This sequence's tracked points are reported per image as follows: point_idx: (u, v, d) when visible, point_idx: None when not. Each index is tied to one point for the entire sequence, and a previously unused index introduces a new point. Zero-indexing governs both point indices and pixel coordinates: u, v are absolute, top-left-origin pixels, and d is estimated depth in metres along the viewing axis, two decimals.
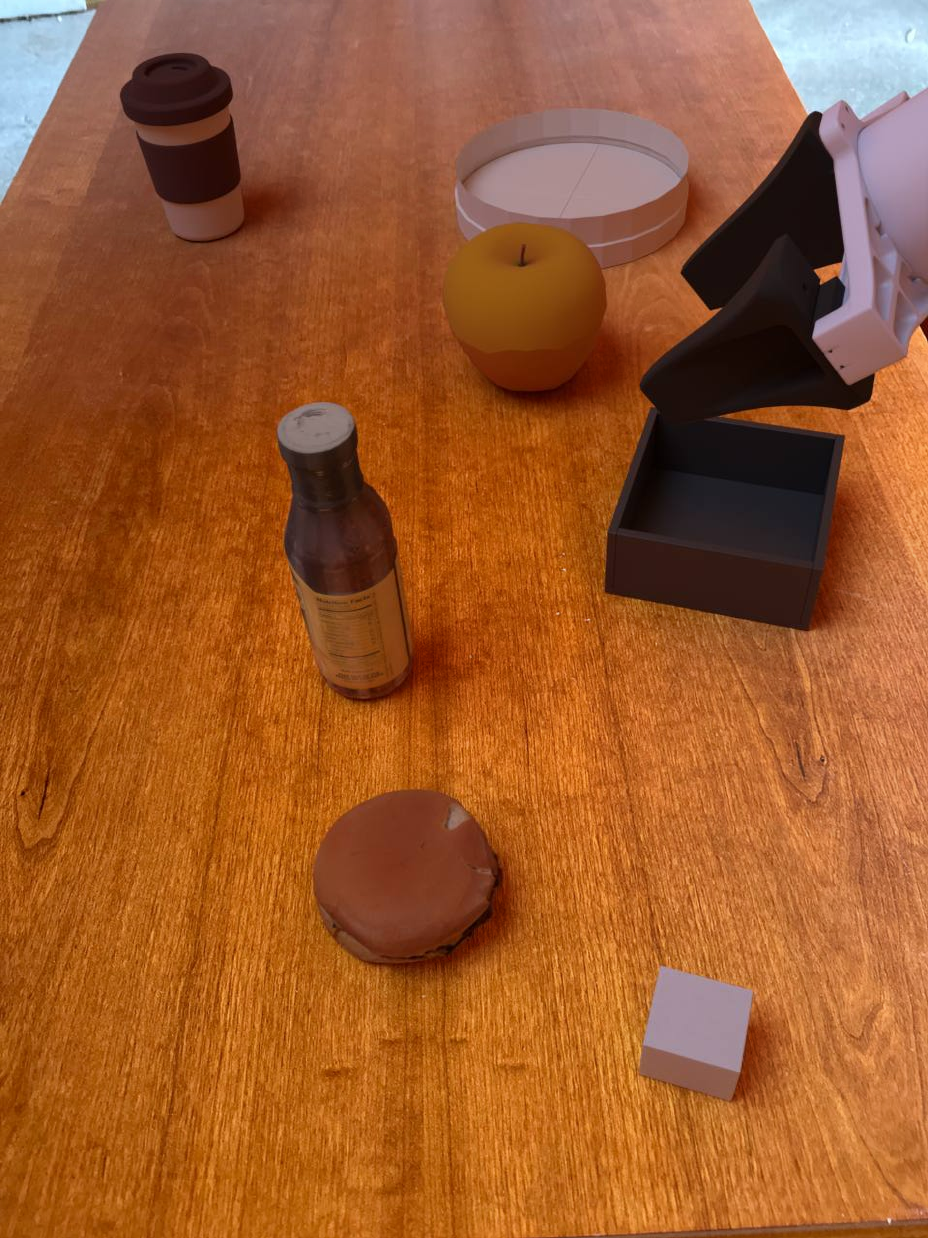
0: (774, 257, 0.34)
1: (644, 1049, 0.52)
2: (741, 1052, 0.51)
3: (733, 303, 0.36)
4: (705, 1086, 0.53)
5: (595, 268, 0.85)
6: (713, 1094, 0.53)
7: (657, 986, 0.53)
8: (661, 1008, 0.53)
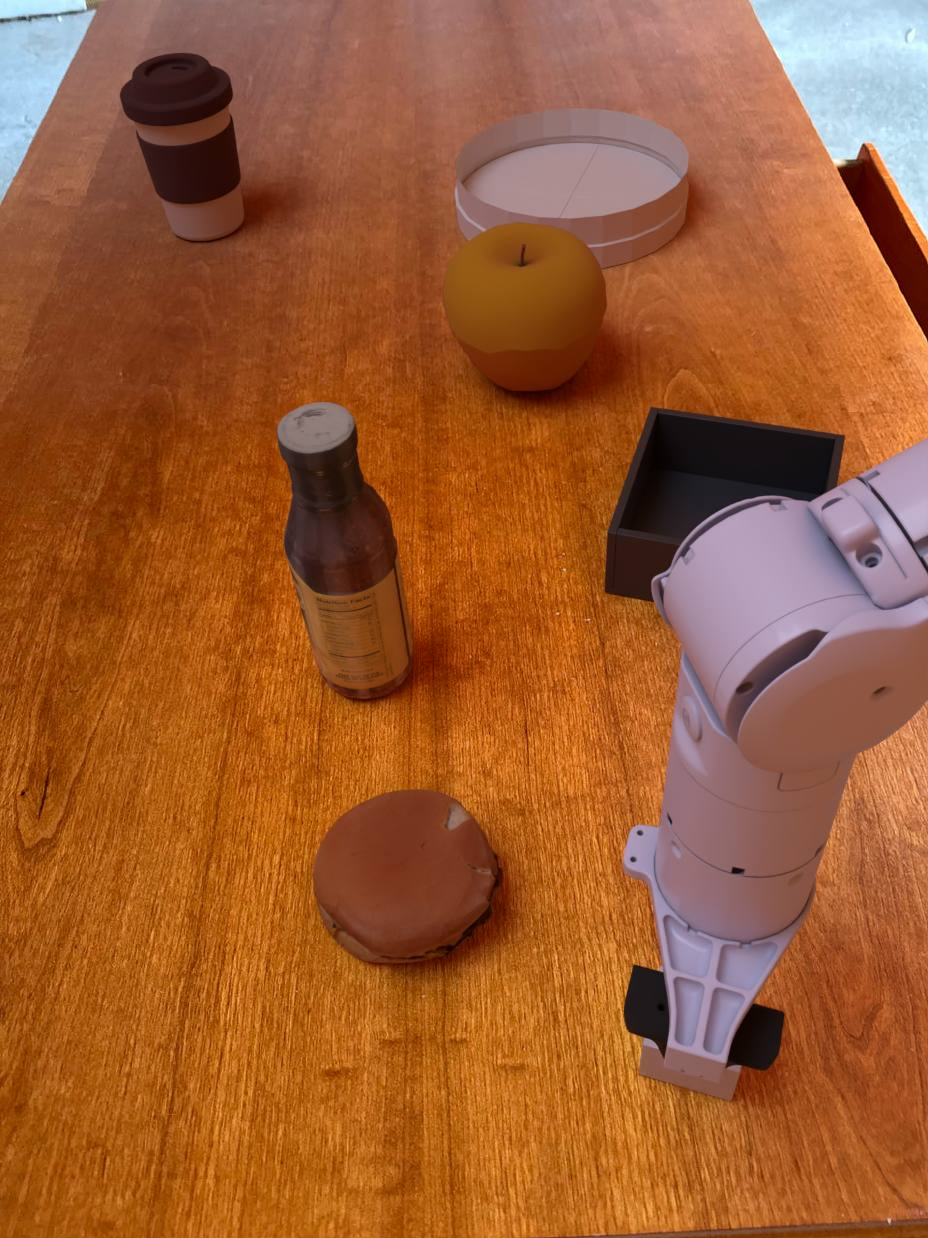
0: None
1: (644, 1049, 0.52)
2: None
3: None
4: (705, 1086, 0.53)
5: (595, 268, 0.85)
6: (713, 1094, 0.53)
7: None
8: None
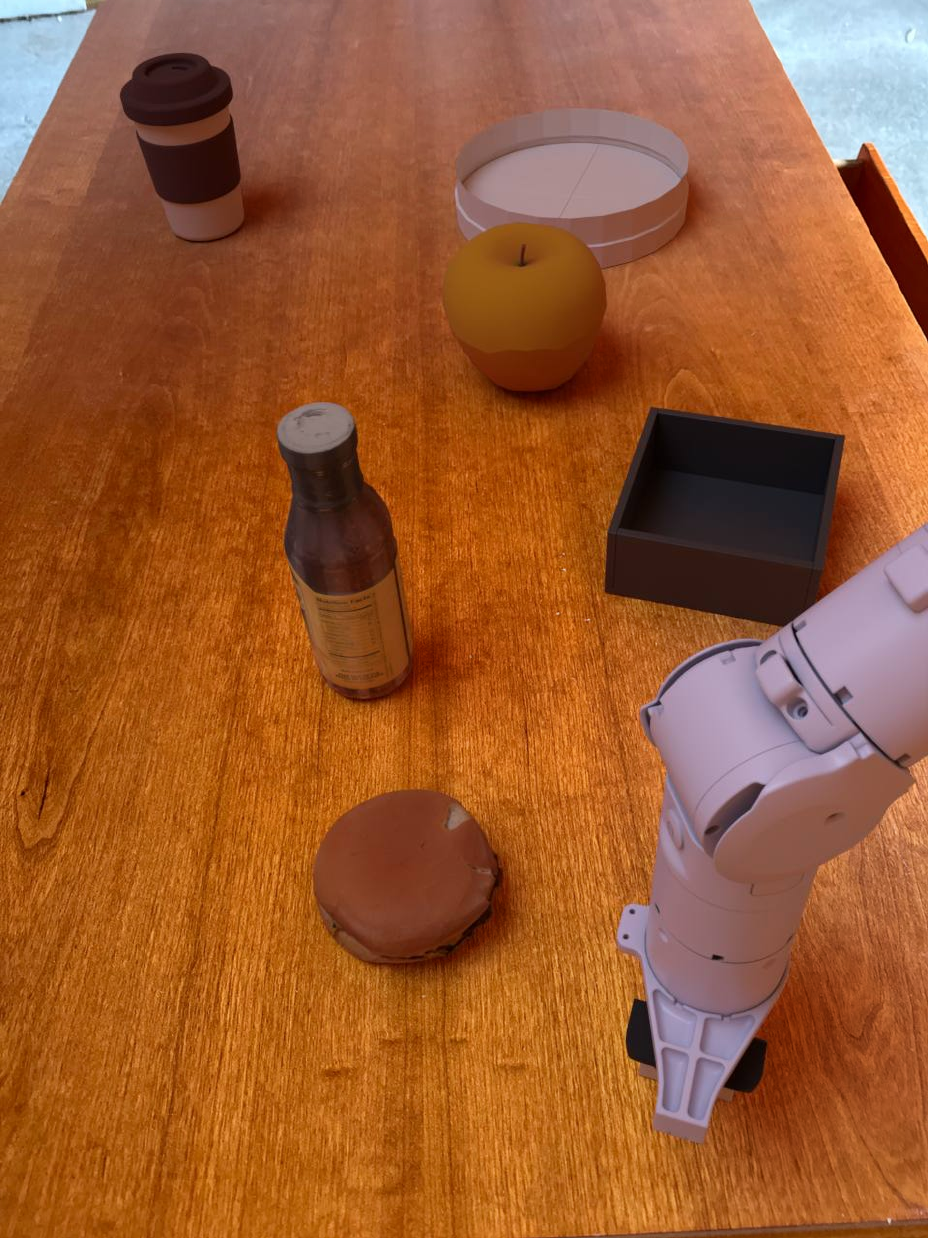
0: (627, 1027, 0.47)
1: None
2: None
3: None
4: None
5: (595, 268, 0.85)
6: None
7: None
8: None
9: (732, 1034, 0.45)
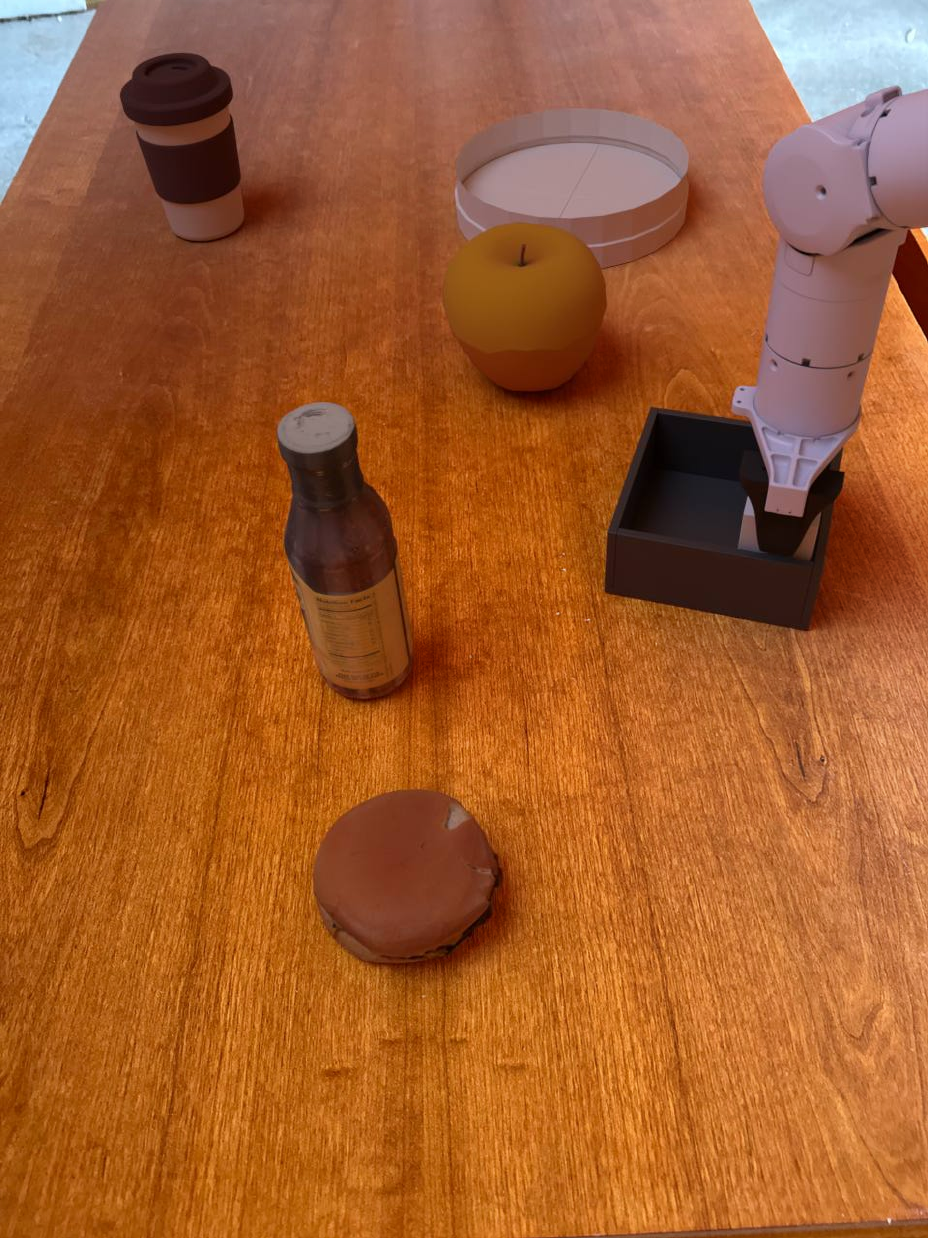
0: None
1: (744, 519, 0.69)
2: (818, 515, 0.68)
3: None
4: None
5: (595, 268, 0.85)
6: None
7: None
8: None
9: (821, 451, 0.62)
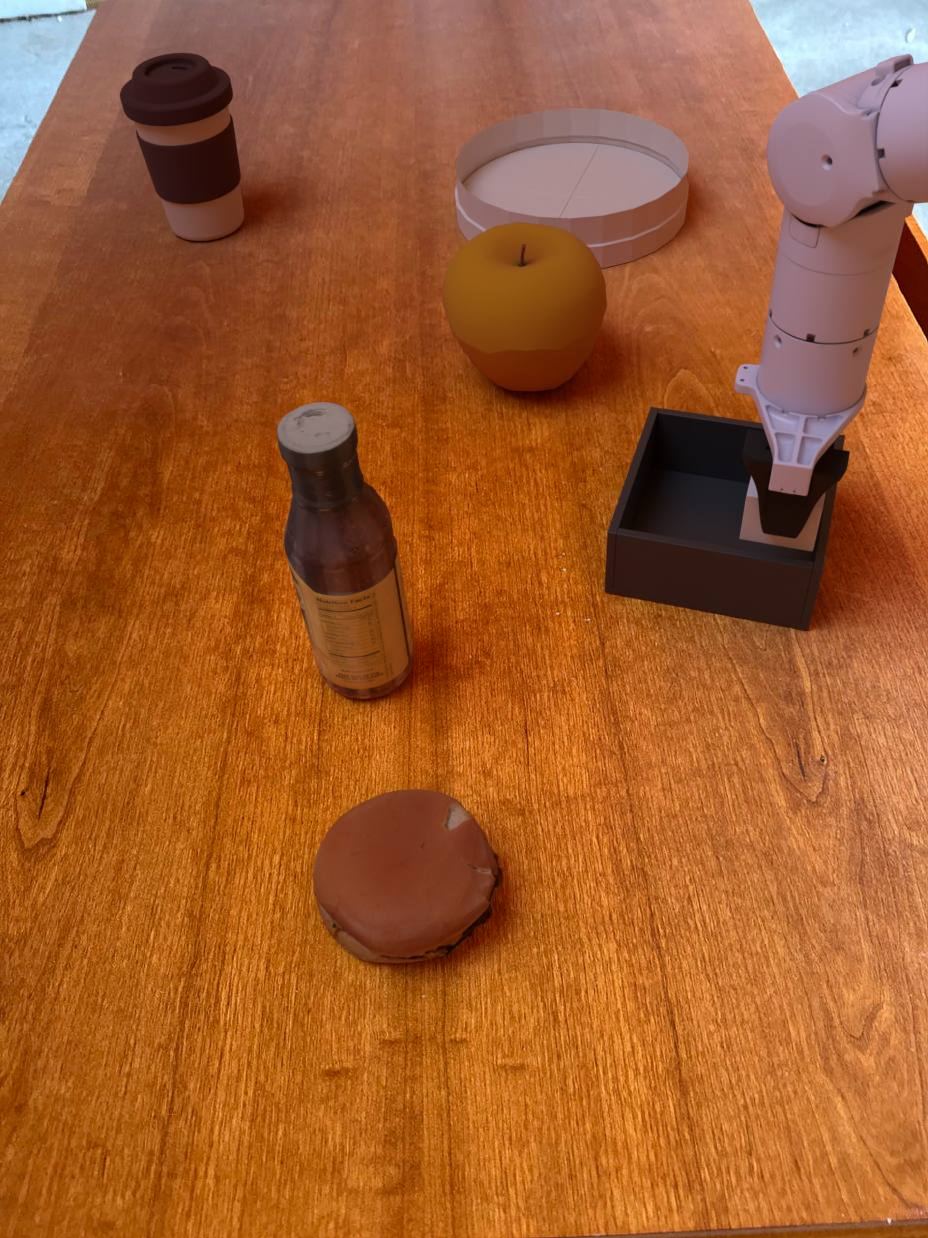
0: None
1: (747, 501, 0.68)
2: (822, 497, 0.67)
3: None
4: None
5: (595, 268, 0.85)
6: (798, 545, 0.69)
7: None
8: None
9: (826, 429, 0.61)
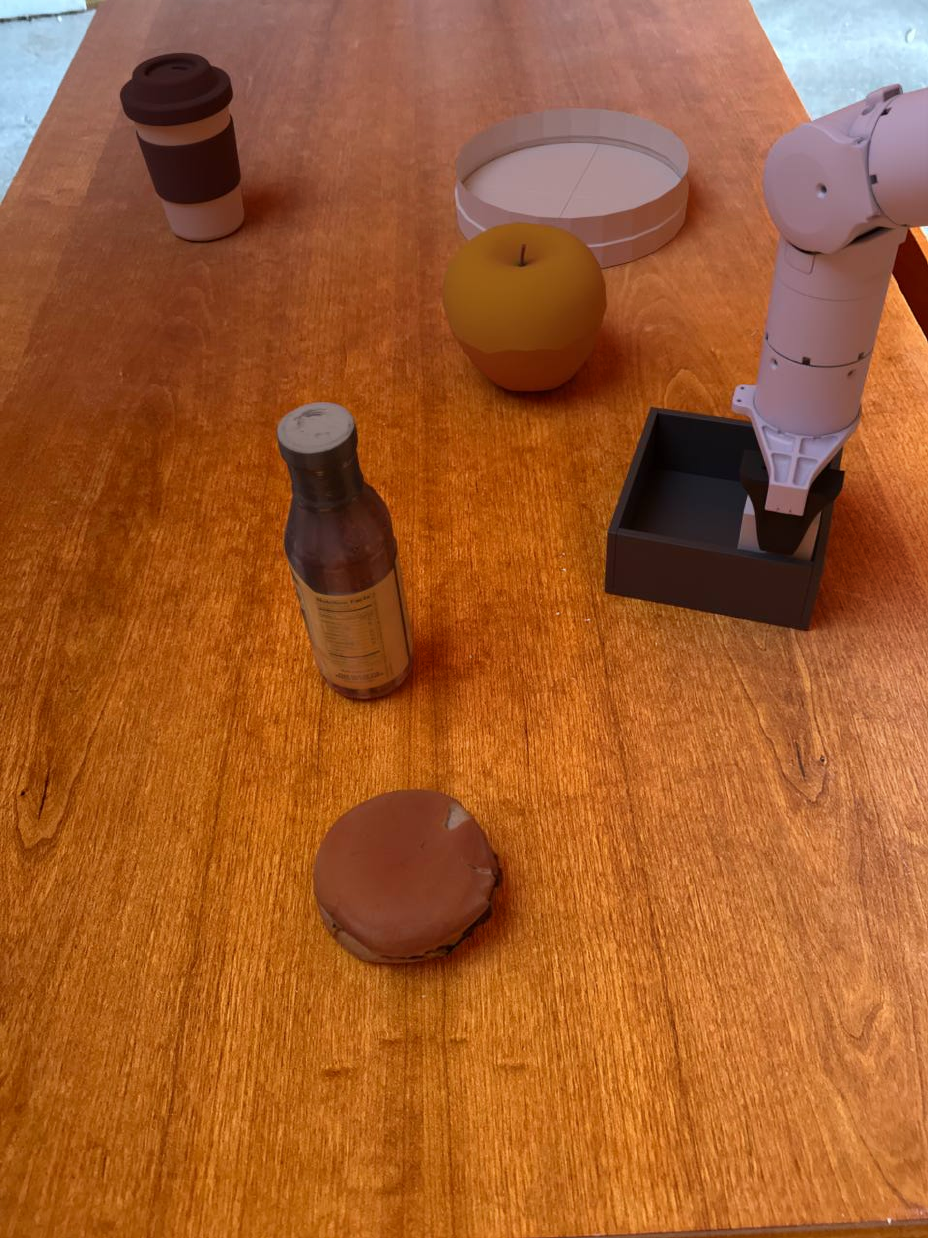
0: None
1: (744, 518, 0.69)
2: (818, 514, 0.68)
3: None
4: None
5: (595, 268, 0.85)
6: None
7: None
8: None
9: (821, 449, 0.62)
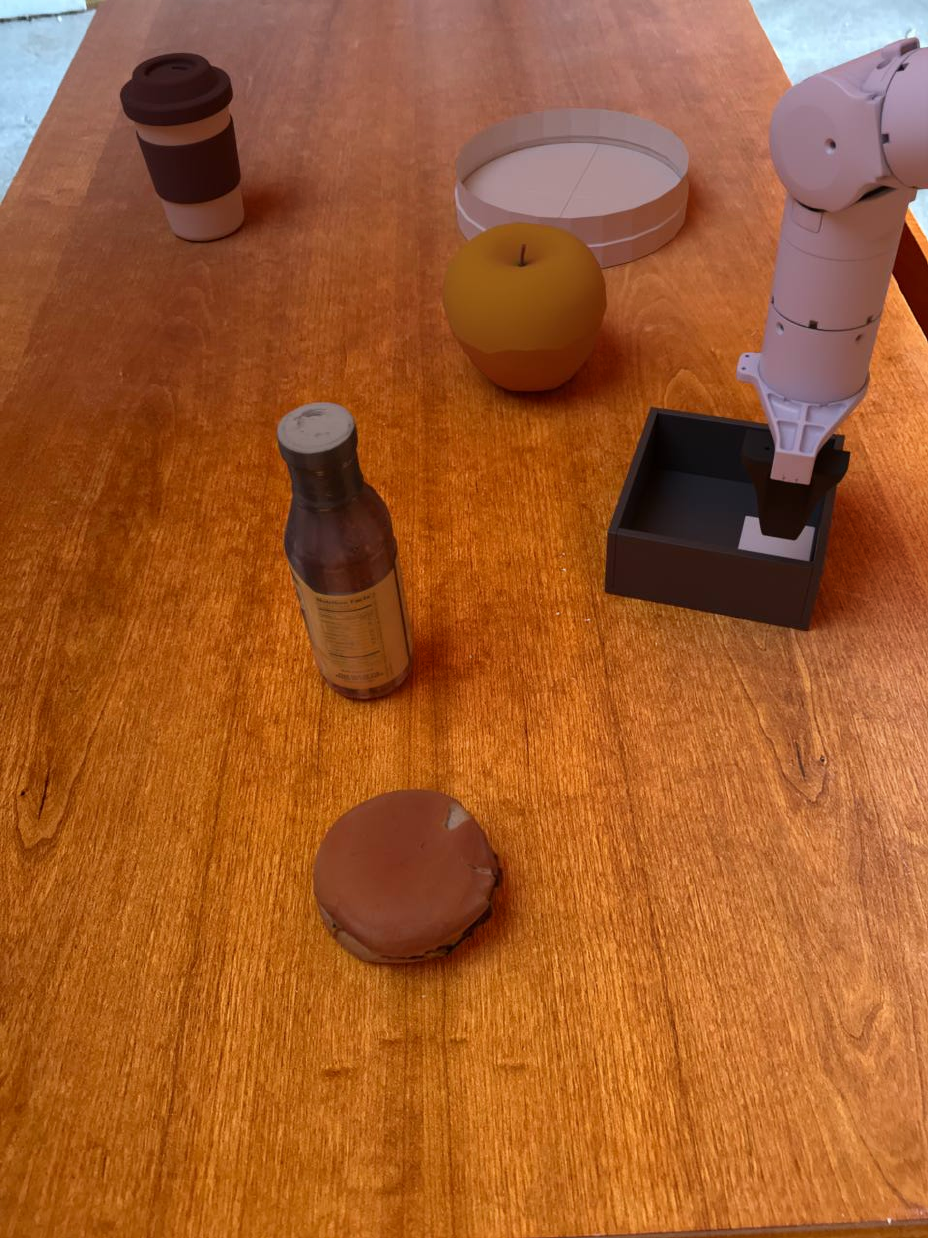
0: None
1: None
2: (807, 559, 0.71)
3: None
4: None
5: (595, 268, 0.85)
6: None
7: (744, 526, 0.73)
8: (747, 538, 0.72)
9: (828, 417, 0.60)
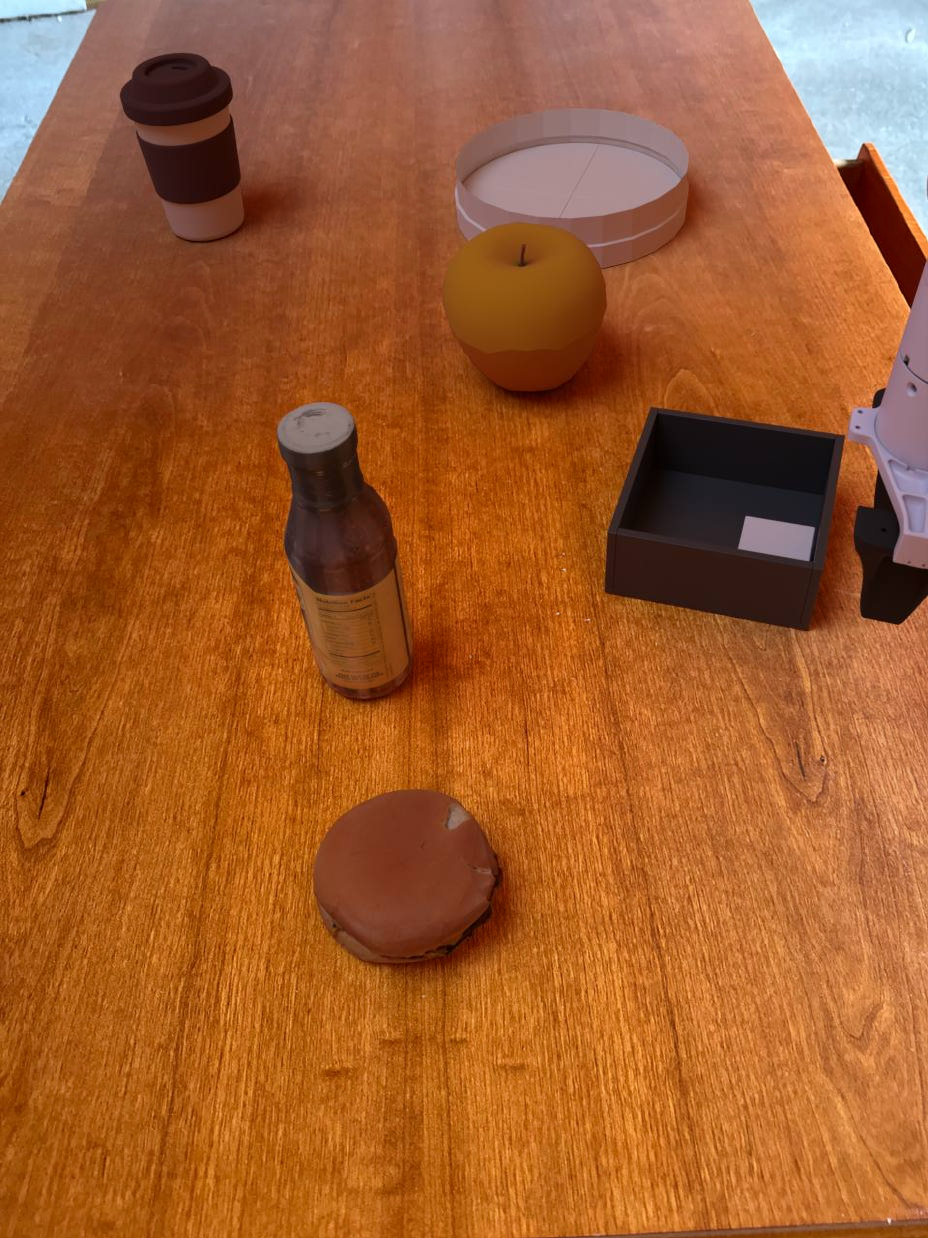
0: (854, 526, 0.54)
1: None
2: (807, 559, 0.71)
3: None
4: None
5: (595, 268, 0.85)
6: None
7: (744, 526, 0.73)
8: (747, 538, 0.72)
9: None
